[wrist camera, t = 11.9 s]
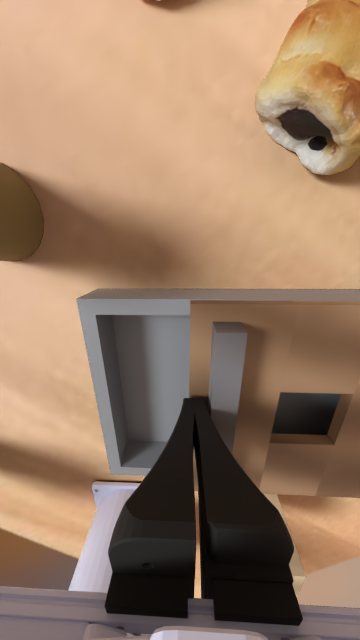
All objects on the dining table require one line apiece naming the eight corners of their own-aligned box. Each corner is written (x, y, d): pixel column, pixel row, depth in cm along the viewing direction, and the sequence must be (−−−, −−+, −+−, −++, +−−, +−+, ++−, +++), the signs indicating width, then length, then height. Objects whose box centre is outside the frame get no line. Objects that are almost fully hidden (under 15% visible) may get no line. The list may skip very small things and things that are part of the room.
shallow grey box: (341, 449, 19) (367, 484, 17) (121, 442, 20) (110, 474, 17) (406, 289, 14) (462, 300, 11) (97, 288, 15) (76, 298, 12)
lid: (455, 490, 16) (496, 528, 14) (187, 479, 17) (187, 513, 15) (601, 302, 10) (708, 316, 8) (190, 300, 11) (190, 312, 9)
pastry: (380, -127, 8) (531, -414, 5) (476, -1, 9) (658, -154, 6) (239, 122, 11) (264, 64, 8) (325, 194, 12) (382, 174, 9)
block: (265, 494, 22) (296, 597, 16) (233, 493, 22) (252, 594, 16) (269, 474, 21) (306, 576, 15) (236, 473, 21) (258, 574, 15)
